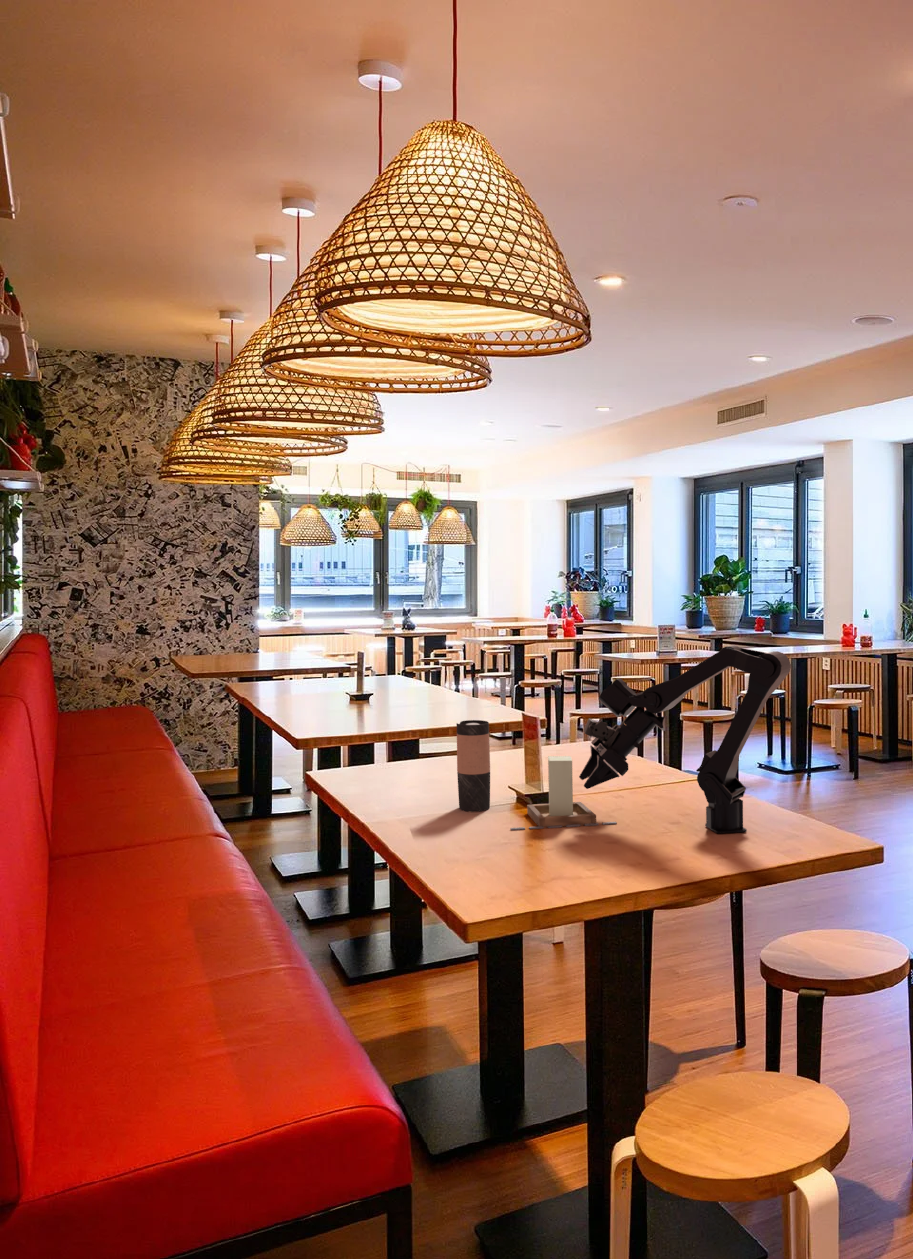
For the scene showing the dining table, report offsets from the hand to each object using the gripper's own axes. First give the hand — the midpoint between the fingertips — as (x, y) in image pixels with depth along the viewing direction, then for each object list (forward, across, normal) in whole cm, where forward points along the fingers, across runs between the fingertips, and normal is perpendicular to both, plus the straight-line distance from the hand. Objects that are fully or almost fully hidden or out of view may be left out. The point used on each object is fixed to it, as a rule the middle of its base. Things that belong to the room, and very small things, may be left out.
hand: (582, 782), depth 206 cm
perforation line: (+9, +6, +2) cm, 11 cm away
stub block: (+9, 0, +2) cm, 9 cm away
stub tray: (+9, 0, +2) cm, 9 cm away
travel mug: (+22, -12, -12) cm, 28 cm away
